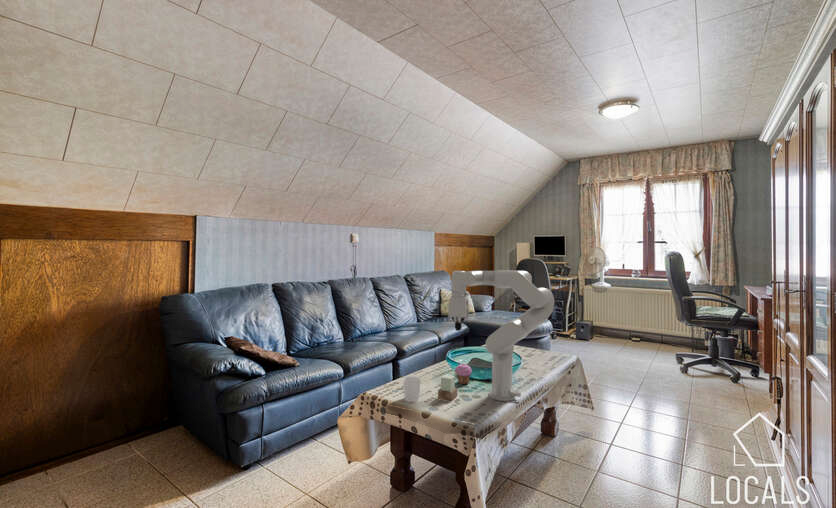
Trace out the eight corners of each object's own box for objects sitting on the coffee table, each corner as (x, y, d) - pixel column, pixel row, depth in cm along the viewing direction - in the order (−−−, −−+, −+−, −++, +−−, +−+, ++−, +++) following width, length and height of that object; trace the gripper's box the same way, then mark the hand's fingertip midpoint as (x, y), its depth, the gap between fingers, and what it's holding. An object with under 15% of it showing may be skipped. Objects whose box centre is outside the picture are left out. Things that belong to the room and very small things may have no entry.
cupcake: (458, 386, 202) (458, 367, 202) (452, 381, 211) (452, 362, 211) (474, 385, 205) (474, 366, 205) (467, 379, 213) (467, 361, 213)
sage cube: (454, 388, 187) (454, 375, 187) (450, 391, 182) (451, 378, 182) (444, 386, 189) (445, 374, 189) (440, 389, 185) (441, 377, 185)
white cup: (418, 404, 179) (418, 382, 179) (401, 402, 180) (401, 381, 180) (421, 397, 186) (421, 376, 186) (405, 396, 188) (405, 375, 188)
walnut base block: (457, 396, 187) (457, 388, 187) (451, 401, 181) (451, 392, 181) (443, 393, 191) (443, 385, 191) (437, 398, 184) (438, 390, 184)
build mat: (469, 397, 187) (469, 396, 187) (461, 406, 177) (461, 405, 176) (435, 391, 195) (435, 390, 195) (425, 399, 185) (425, 398, 185)
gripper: (474, 295, 202) (474, 330, 202) (448, 293, 209) (447, 327, 209) (470, 296, 196) (469, 333, 196) (442, 294, 202) (442, 330, 202)
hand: (458, 330), depth 202 cm, fingers closed
